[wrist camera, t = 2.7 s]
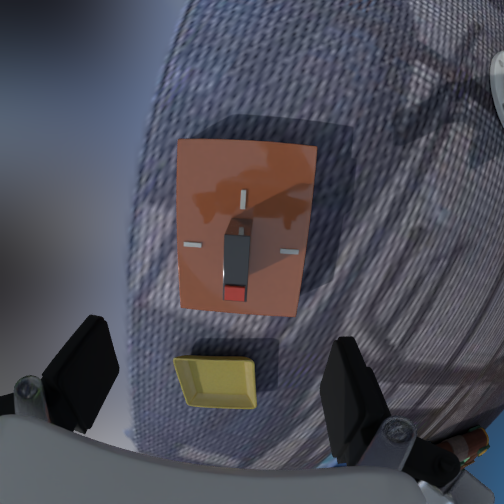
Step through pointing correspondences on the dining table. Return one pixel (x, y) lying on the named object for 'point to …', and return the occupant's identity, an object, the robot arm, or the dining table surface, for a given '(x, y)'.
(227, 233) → the black block red end
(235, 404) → the yellow square tray
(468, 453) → the book
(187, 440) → the dining table surface
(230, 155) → the panel
